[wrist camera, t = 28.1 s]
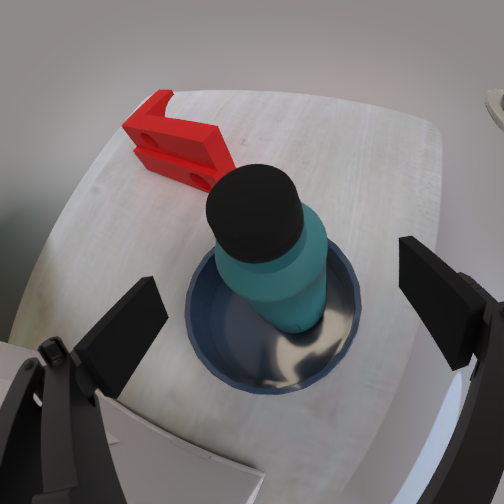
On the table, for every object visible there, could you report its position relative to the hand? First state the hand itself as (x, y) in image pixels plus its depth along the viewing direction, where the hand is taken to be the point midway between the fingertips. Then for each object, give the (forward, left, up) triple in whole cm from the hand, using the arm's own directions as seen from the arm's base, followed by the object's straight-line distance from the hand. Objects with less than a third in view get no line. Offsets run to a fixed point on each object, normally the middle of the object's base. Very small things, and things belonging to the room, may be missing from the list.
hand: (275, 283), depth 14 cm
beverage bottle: (+1, -2, -16) cm, 16 cm away
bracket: (+21, -22, -17) cm, 34 cm away
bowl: (+3, -1, -16) cm, 17 cm away
